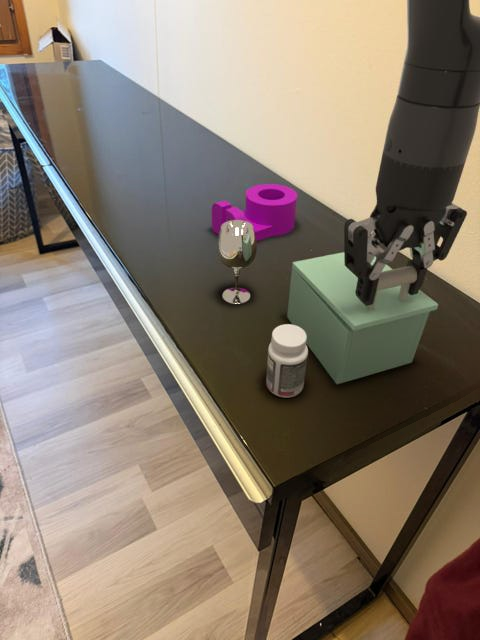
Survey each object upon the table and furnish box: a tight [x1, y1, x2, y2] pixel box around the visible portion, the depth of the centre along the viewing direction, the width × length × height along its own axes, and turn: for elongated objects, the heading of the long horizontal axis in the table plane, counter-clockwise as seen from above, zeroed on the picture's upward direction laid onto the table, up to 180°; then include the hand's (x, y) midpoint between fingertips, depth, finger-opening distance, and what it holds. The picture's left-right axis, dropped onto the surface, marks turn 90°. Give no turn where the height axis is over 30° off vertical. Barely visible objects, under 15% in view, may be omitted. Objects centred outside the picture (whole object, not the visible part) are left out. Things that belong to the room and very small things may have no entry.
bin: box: [286, 267, 431, 385], centre depth 62 cm, size 15×12×9 cm
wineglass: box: [216, 220, 258, 305], centre depth 68 cm, size 6×6×12 cm
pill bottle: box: [265, 323, 309, 399], centre depth 55 cm, size 5×5×8 cm
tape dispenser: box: [211, 183, 298, 242], centre depth 88 cm, size 16×10×6 cm, turn 125°
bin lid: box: [291, 251, 439, 331], centre depth 57 cm, size 16×12×5 cm
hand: (387, 295), depth 53 cm, fingers closed on bin lid, 5 cm apart
